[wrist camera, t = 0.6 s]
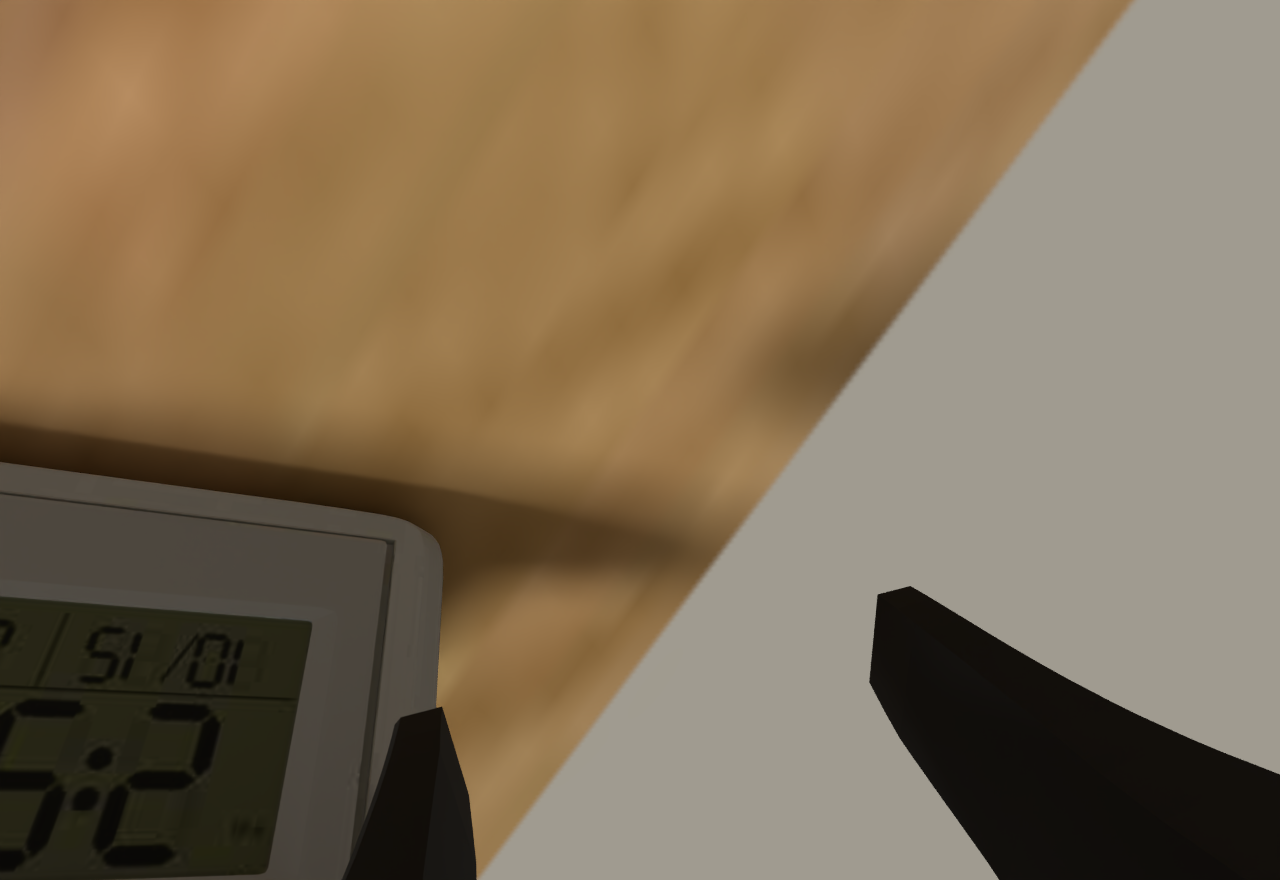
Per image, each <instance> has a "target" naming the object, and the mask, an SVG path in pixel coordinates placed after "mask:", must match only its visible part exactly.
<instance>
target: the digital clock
mask: <svg viewBox="0 0 1280 880" xmlns="http://www.w3.org/2000/svg"><path fill="white" fill-rule="evenodd" d="M442 588H443V559H442V553H441V549H440V546H439V544H438V542H437V541H436V539H435V538H434V537H433V536H432V535H431V534H429V533H428V532H426V531H425V530H423V529H421V528H420V527H418V526H416V525H414V524H412V523H411V522H409V521H406V520H403V519H400V518H396V517H392V516H387V515H382V514H376V513H369V512H363V511H356V510H350V509H344V508H337V507H330V506H323V505H316V504H309V503H301V502H294V501H287V500H279V499H272V498H264V497H257V496H250V495H242V494H235V493H227V492H220V491H212V490H205V489H197V488H190V487H182V486H175V485H167V484H160V483H153V482H145V481H138V480H130V479H123V478H115V477H108V476H100V475H93V474H85V473H78V472H71V471H63V470H56V469H48V468H41V467H33V466H26V465H18V464H11V463H3V462H0V880H342V878H343V875H344V873H345V870H346V868H347V865H348V863H349V861H350V858H351V855H352V853H353V850H354V847H355V845H356V842H357V839H358V837H359V834H360V832H361V829H362V826H363V824H364V821H365V818H366V816H367V813H368V810H369V808H370V805H371V802H372V799H373V796H374V793H375V790H376V787H377V784H378V781H379V778H380V775H381V772H382V768H383V765H384V762H385V759H386V755H387V752H388V748H389V745H390V741H391V737H392V733H393V729H394V725H395V724H396V722H397V721H398V720H399V719H400V717H404V716H407V715H411V714H415V713H419V712H423V711H427V710H431V709H435V708H436V696H437V678H438V660H439V642H440V624H441V606H442Z"/></svg>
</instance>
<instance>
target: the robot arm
mask: <svg viewBox="0 0 1280 880" xmlns="http://www.w3.org/2000/svg"><path fill="white" fill-rule="evenodd" d="M869 682H870V684H871V686H872V688H873V690H874V692H875V694H876V696H877V698H878V700H879V701H880V703H881V705H882V707H883V709H884V711H885V713H886V715H887V716H888V718H889V720H890V721H891V724H892V725H893V727H894V729H895V730H896V732H897V734H898V736H899V738H900V739H901V741H902V742H903V744H904V745H905V747H906V748H907V749H908V751H909V752H910V754H911V755H912V756H913V758H914V759H915V761H916V762H917V764H918V765H919V767H920V768H921V769H922V770H923V772H924V774H925V775H926V776H927V778H928V779H929V781H930V782H931V783H932V785H933V786H934V788H935V789H936V790H937V792H938V793H939V795H940V796H941V798H942V799H943V800H944V802H945V803H946V805H947V806H948V807H949V809H950V810H951V811H952V813H953V814H954V816H955V817H956V819H957V820H958V821H959V823H960V824H961V825H962V827H963V828H964V830H965V831H966V832H967V834H968V835H969V837H970V838H971V840H972V841H973V842H974V844H975V845H976V847H977V848H978V849H979V851H980V852H981V854H982V855H983V856H984V858H985V859H986V860H987V862H988V863H989V865H990V867H991V868H992V869H993V871H994V873H995V874H996V876H997V877H998V879H999V880H1280V774H1277V773H1274V772H1272V771H1269V770H1266V769H1264V768H1262V767H1259V766H1257V765H1254V764H1251V763H1249V762H1246V761H1244V760H1241V759H1239V758H1236V757H1233V756H1231V755H1228V754H1226V753H1223V752H1221V751H1218V750H1216V749H1213V748H1211V747H1209V746H1206V745H1204V744H1202V743H1199V742H1197V741H1194V740H1192V739H1190V738H1187V737H1185V736H1183V735H1181V734H1179V733H1177V732H1174V731H1172V730H1170V729H1168V728H1165V727H1163V726H1161V725H1159V724H1157V723H1155V722H1152V721H1150V720H1148V719H1146V718H1143V717H1141V716H1139V715H1137V714H1135V713H1133V712H1131V711H1129V710H1127V709H1125V708H1123V707H1121V706H1119V705H1117V704H1115V703H1113V702H1110V701H1109V700H1107V699H1105V698H1103V697H1101V696H1099V695H1097V694H1095V693H1094V692H1092V691H1090V690H1088V689H1086V688H1084V687H1082V686H1080V685H1078V684H1076V683H1074V682H1072V681H1071V680H1069V679H1067V678H1065V677H1063V676H1061V675H1060V674H1058V673H1056V672H1054V671H1053V670H1051V669H1049V668H1047V667H1045V666H1044V665H1042V664H1040V663H1038V662H1037V661H1035V660H1033V659H1031V658H1030V657H1028V656H1026V655H1024V654H1023V653H1021V652H1019V651H1017V650H1016V649H1014V648H1012V647H1011V646H1009V645H1007V644H1006V643H1004V642H1002V641H1001V640H999V639H997V638H996V637H994V636H992V635H991V634H989V633H987V632H986V631H984V630H982V629H981V628H979V627H978V626H976V625H974V624H973V623H971V622H969V621H968V620H966V619H964V618H963V617H961V616H959V615H958V614H956V613H955V612H953V611H951V610H949V609H948V608H946V607H945V606H943V605H941V604H940V603H938V602H937V601H935V600H933V599H932V598H930V597H928V596H927V595H925V594H923V593H921V592H920V591H918V590H916V589H914V588H913V587H911V586H909V587H905V588H901V589H898V590H893V591H890V592H886V593H882V594H878V596H877V607H876V618H875V628H874V638H873V649H872V660H871V671H870V681H869ZM342 880H476V857H475V847H474V838H473V828H472V820H471V811H470V802H469V794H468V791H467V787H466V784H465V781H464V777H463V774H462V771H461V768H460V764H459V761H458V758H457V754H456V751H455V748H454V744H453V741H452V738H451V735H450V731H449V728H448V725H447V721H446V718H445V715H444V712H443V708H442V707H439V708H435V709H431V710H427V711H423V712H419V713H415V714H411V715H407V716H404V717H400V719H399V720H398V721H397V722H396V724H395V725H394V729H393V733H392V737H391V741H390V745H389V748H388V752H387V755H386V759H385V762H384V765H383V768H382V772H381V775H380V778H379V781H378V784H377V787H376V790H375V793H374V796H373V799H372V802H371V805H370V808H369V810H368V813H367V816H366V818H365V821H364V824H363V826H362V829H361V832H360V834H359V837H358V839H357V842H356V845H355V847H354V850H353V853H352V855H351V858H350V861H349V863H348V865H347V868H346V870H345V873H344V875H343V878H342Z"/></svg>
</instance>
